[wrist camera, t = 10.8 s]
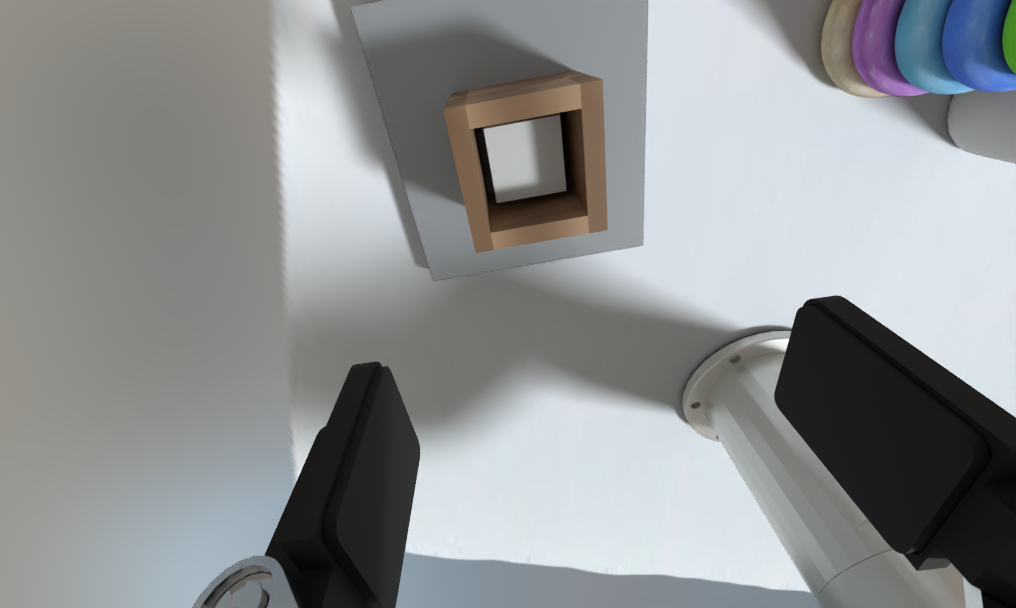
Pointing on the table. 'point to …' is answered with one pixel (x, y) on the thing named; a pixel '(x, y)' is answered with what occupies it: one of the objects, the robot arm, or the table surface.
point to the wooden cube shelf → (581, 151)
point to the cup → (984, 123)
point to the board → (494, 58)
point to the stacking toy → (920, 46)
